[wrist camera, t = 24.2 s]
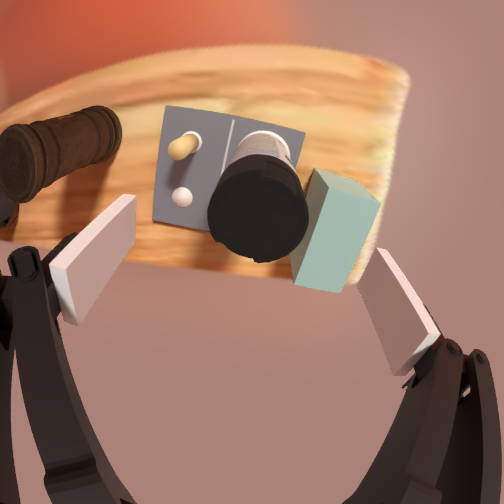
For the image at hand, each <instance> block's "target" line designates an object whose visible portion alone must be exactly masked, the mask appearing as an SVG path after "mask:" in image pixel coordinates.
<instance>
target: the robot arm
mask: <svg viewBox="0 0 504 504" xmlns="http://www.w3.org/2000/svg"><path fill="white" fill-rule="evenodd" d="M136 199H137V196H134V195H128V194H123V195H122V196H120V197H119V198H118V199H117V200H116V201H114V202H113V203H112V204H111V205H110V206H109V207H108V208H106V209H105V210H104V211H103V212H102V213H101V214H100V215H98V216H97V217H96V218H95V219H94V220H93V221H92V222H91V223H90V224H89V225H88V226H87V227H85V228H84V229H83V230H82V231H81V232H80V233H73V234H71V235H69V236H67V237H65V238H64V239H63V240H62V241H61V242H60V243H59V245H57V246H56V247H55V248H54V249H53V250H52V251H51V252H50V253H49V254H48V255H47V256H46V257H45V258H44V259H43V260H42V261H41V260H40V256H39V252H38V249H36V248H35V247H31V246H25V247H21V248H18V249H17V250H15V251H13V252H12V253H11V254H10V255H9V257H8V260H7V261H8V264H9V268H10V271H11V275H12V276H2V274H1V270H0V504H20V497H19V491H18V484H17V479H16V473H15V466H14V458H13V449H12V438H11V381H12V369H13V368H12V367H13V359H14V349H15V350H16V358H17V366H18V372H19V378H20V384H21V389H22V394H23V399H24V403H25V407H26V411H27V415H28V419H29V423H30V426H31V430H32V433H33V436H34V439H35V443H36V446H37V449H38V451H39V454H40V457H41V460H42V462H43V465H44V468H45V473H46V474H45V476H44V485H45V488H46V491H47V493H48V496H49V498H50V500H51V502H52V504H137V503H136V502H135V501H134V499H133V498H132V496H131V495H130V493H129V492H128V490H127V489H126V488H125V487H124V485H123V484H122V482H121V481H120V480H119V478H118V476H117V475H116V473H115V471H114V470H113V468H112V466H111V464H110V463H109V461H108V459H107V457H106V455H105V453H104V451H103V449H102V447H101V445H100V443H99V441H98V439H97V437H96V435H95V432H94V430H93V428H92V426H91V424H90V421H89V419H88V416H87V414H86V412H85V409H84V407H83V404H82V401H81V399H80V396H79V393H78V390H77V388H76V385H75V382H74V379H73V376H72V373H71V369H70V366H69V363H68V360H67V356H66V352H65V349H64V345H63V341H62V337H61V333H60V328H59V324H58V321H57V316H58V315H59V313H60V312H62V316H63V319H64V321H65V322H68V323H70V324H73V325H76V326H79V327H80V325H81V324H82V322H83V320H84V318H85V317H86V315H87V314H88V312H89V310H90V309H91V307H92V305H93V304H94V302H95V301H96V299H97V297H98V296H99V294H100V292H101V291H102V290H103V288H104V287H105V285H106V283H107V282H108V280H109V279H110V277H111V276H112V274H113V273H114V271H115V270H116V268H117V267H118V265H119V264H120V263H121V261H122V260H123V258H124V257H125V256H126V254H127V253H128V251H129V250H130V249H131V247H132V246H133V244H134V243H135V225H136ZM18 209H19V203H15V202H13V201H11V200H9V199H8V198H7V197H6V196H5V195H4V194H3V192H2V191H1V189H0V229H3V228H6V227H7V226H9V225H10V224H11V223H12V222H14V220H15V219H16V217H17V214H18ZM357 287H358V289H359V292H360V294H361V296H362V298H363V301H364V303H365V305H366V308H367V310H368V312H369V315H370V317H371V319H372V322H373V324H374V327H375V329H376V332H377V334H378V337H379V339H380V341H381V344H382V347H383V349H384V352H385V355H386V357H387V360H388V363H389V365H390V368H391V371H392V374H393V376H403V375H406V374H407V373H408V372H409V371H410V370H411V369H412V368H413V367H414V370H415V374H414V375H413V376H412V377H411V378H410V379H409V380H408V381H407V382H406V383H405V384H404V385H403V386H402V388H404V387H405V386H408V387H407V389H406V392H405V395H404V398H403V400H402V403H401V405H400V408H399V410H398V412H397V415H396V417H395V419H394V422H393V424H392V426H391V428H390V430H389V432H388V434H387V436H386V439H385V440H384V443H383V444H382V446H381V448H380V450H379V452H378V454H377V456H376V458H375V459H374V461H373V463H372V465H371V467H370V468H369V470H368V472H367V474H366V475H365V477H364V479H363V480H362V482H361V483H360V485H359V487H358V488H357V490H356V491H355V492H354V494H353V495H352V496H350V497H349V498H348V499H347V500H345V501H344V502H343V503H342V504H499V503H500V493H501V475H502V473H501V472H502V451H501V434H500V422H499V413H498V406H497V399H496V393H495V387H494V382H493V377H492V372H491V368H490V364H489V361H488V358H487V357H486V354H484V352H483V351H481V350H478V349H474V350H473V351H472V352H471V353H470V355H469V356H468V355H465V354H463V352H462V350H461V348H460V346H459V345H458V344H457V343H456V342H455V341H453V340H451V339H448V338H447V339H445V338H444V336H443V335H442V333H441V331H440V330H439V328H438V326H437V324H436V322H435V321H433V317H432V316H431V315H430V312H429V311H428V309H427V307H426V306H425V305H424V304H423V303H422V302H421V300H420V299H419V297H418V296H417V294H416V292H415V291H414V289H413V288H412V286H411V285H410V283H409V282H408V280H407V279H406V277H405V276H404V274H403V273H402V271H401V270H400V269H399V267H398V266H397V264H396V263H395V261H394V260H393V258H392V257H391V255H390V254H389V253H388V251H387V250H384V249H381V248H376V249H375V251H374V253H373V255H372V257H371V259H370V261H369V263H368V265H367V267H366V269H365V271H364V273H363V275H362V277H361V279H360V281H359V283H358V285H357ZM469 387H470V389H471V390H470V393H469V394H467V395H466V396H465V397H463V393H464V392H465V391H466V390H467V389H468V388H469Z"/></svg>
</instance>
